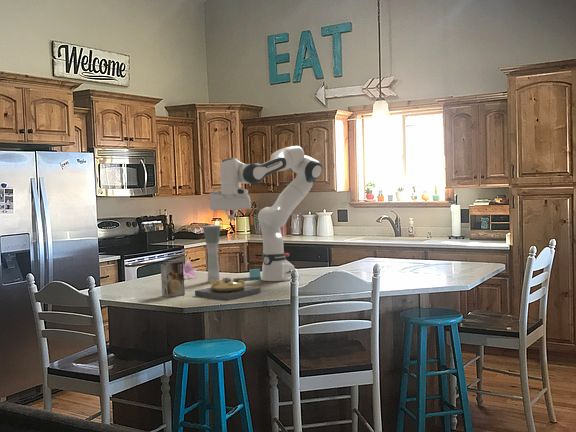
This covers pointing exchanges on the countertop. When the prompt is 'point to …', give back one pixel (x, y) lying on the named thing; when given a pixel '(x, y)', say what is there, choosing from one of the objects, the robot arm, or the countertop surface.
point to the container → (212, 251)
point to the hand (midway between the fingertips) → (231, 218)
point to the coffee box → (172, 279)
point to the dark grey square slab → (227, 293)
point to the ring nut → (234, 282)
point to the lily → (188, 270)
